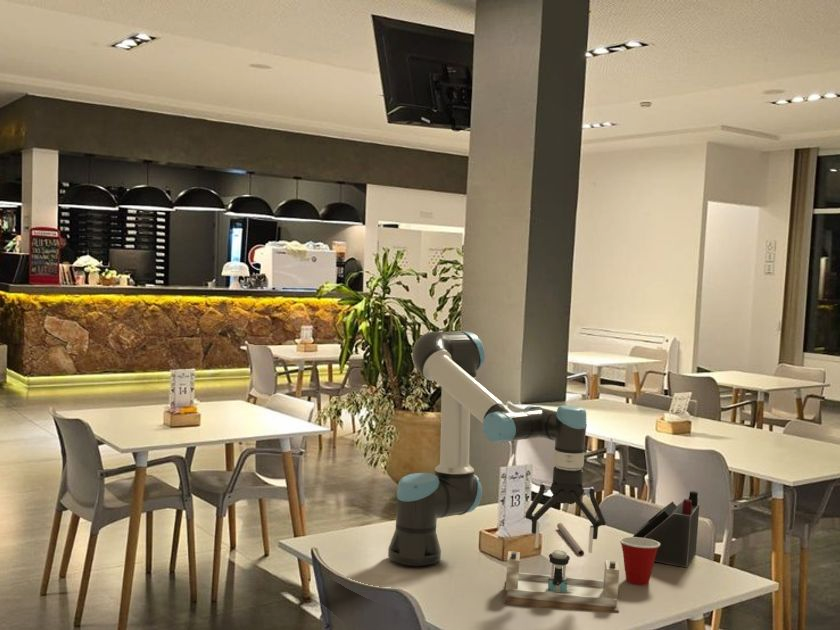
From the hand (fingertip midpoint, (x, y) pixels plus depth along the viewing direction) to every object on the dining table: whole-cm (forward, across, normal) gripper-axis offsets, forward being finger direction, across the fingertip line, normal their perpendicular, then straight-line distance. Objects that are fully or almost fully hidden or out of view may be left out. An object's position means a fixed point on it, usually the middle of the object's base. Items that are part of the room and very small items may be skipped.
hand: (563, 548), depth 230 cm
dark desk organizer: (+13, +31, +40) cm, 52 cm away
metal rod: (+13, +4, +49) cm, 51 cm away
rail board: (+13, 0, 0) cm, 13 cm away
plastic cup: (+13, +21, +16) cm, 29 cm away
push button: (+11, 0, 0) cm, 11 cm away
